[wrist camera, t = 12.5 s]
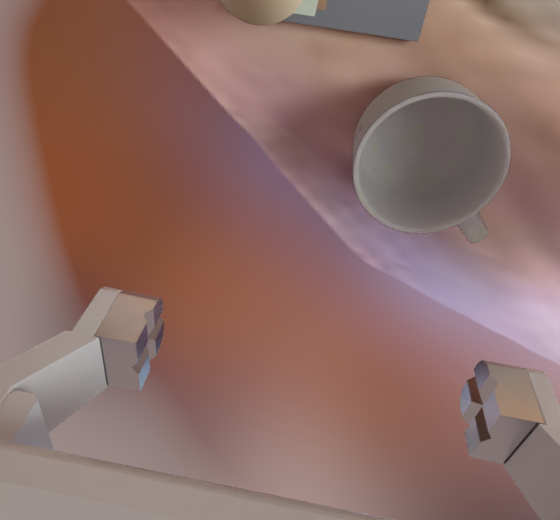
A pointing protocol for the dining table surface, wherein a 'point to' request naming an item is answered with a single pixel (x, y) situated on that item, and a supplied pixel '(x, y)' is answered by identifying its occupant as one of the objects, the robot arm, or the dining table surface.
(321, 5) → the walnut base block
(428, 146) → the teacup
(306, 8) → the sage top block
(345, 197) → the dining table surface
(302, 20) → the slate board
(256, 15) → the beech cylinder
